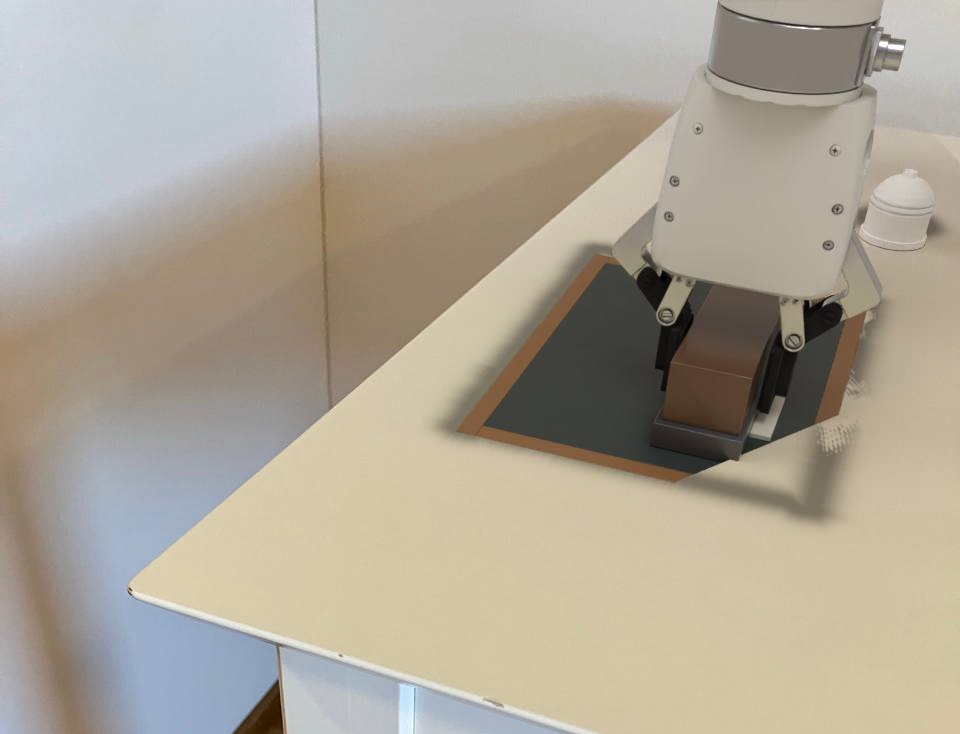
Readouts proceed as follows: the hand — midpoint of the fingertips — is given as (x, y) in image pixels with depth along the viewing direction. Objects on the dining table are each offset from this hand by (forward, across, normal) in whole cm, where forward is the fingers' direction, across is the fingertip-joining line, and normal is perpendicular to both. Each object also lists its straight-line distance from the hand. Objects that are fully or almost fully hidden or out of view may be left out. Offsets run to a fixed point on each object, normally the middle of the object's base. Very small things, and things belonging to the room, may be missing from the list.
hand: (719, 389), depth 65 cm
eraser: (+1, 0, 0) cm, 1 cm away
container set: (+2, 0, -37) cm, 37 cm away
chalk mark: (+1, -3, 0) cm, 3 cm away
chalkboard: (+2, +3, -5) cm, 6 cm away
